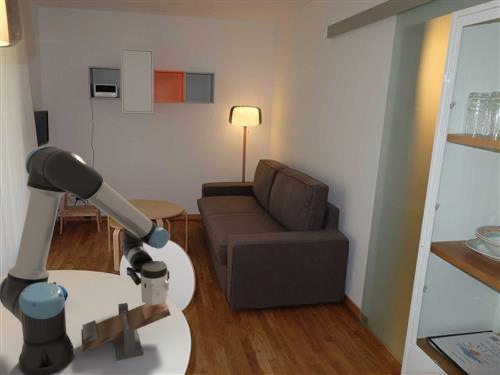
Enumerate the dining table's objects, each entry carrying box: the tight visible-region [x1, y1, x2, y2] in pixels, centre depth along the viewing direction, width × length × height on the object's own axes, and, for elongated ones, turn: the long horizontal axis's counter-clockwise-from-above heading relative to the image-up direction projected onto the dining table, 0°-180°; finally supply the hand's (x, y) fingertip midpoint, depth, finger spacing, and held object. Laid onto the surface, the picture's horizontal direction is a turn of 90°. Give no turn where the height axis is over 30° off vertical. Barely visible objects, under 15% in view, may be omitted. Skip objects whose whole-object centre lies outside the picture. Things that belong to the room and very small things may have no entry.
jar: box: [140, 260, 169, 306], centre depth 135 cm, size 9×8×12 cm
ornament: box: [52, 281, 69, 302], centre depth 153 cm, size 9×9×10 cm
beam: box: [80, 301, 171, 352], centre depth 134 cm, size 28×13×4 cm, turn 112°
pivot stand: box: [112, 302, 144, 361], centre depth 135 cm, size 8×18×9 cm, turn 23°
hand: (160, 288), depth 131 cm, fingers closed on jar, 4 cm apart
